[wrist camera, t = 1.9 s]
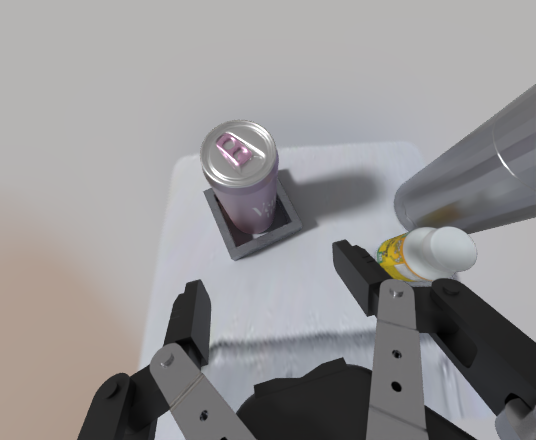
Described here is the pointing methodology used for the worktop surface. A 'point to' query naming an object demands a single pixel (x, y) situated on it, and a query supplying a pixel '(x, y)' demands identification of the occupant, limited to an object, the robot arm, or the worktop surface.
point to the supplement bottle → (427, 254)
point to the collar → (263, 240)
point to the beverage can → (243, 172)
